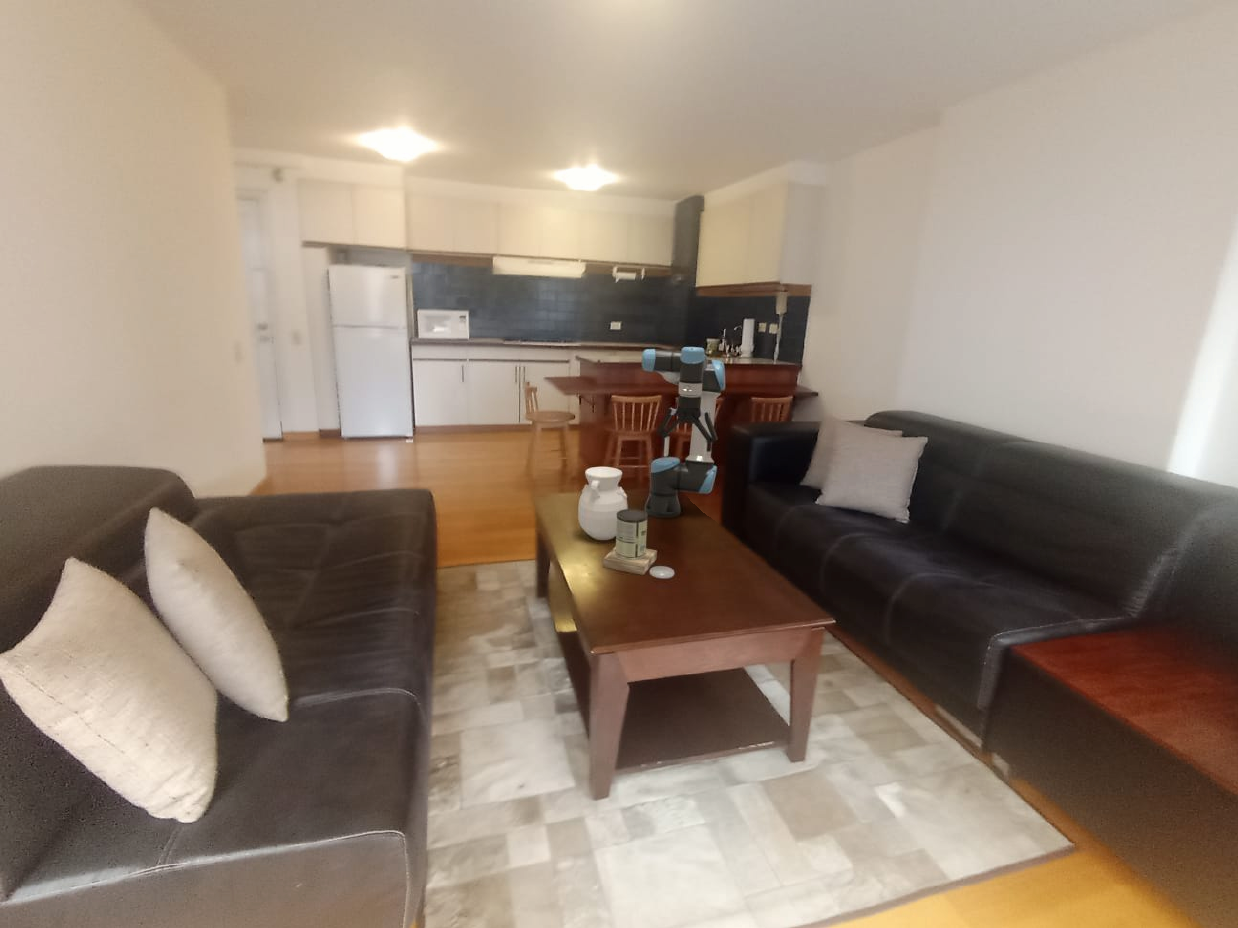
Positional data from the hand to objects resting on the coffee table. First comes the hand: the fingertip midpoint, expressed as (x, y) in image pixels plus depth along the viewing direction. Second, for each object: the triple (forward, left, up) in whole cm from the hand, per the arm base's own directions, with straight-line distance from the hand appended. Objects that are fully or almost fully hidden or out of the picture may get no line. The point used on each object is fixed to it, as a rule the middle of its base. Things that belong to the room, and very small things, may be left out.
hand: (685, 458), depth 194 cm
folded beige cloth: (+15, -13, -35) cm, 40 cm away
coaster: (+18, -1, -35) cm, 39 cm away
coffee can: (+15, -13, -31) cm, 37 cm away
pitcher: (-3, -31, -35) cm, 46 cm away
